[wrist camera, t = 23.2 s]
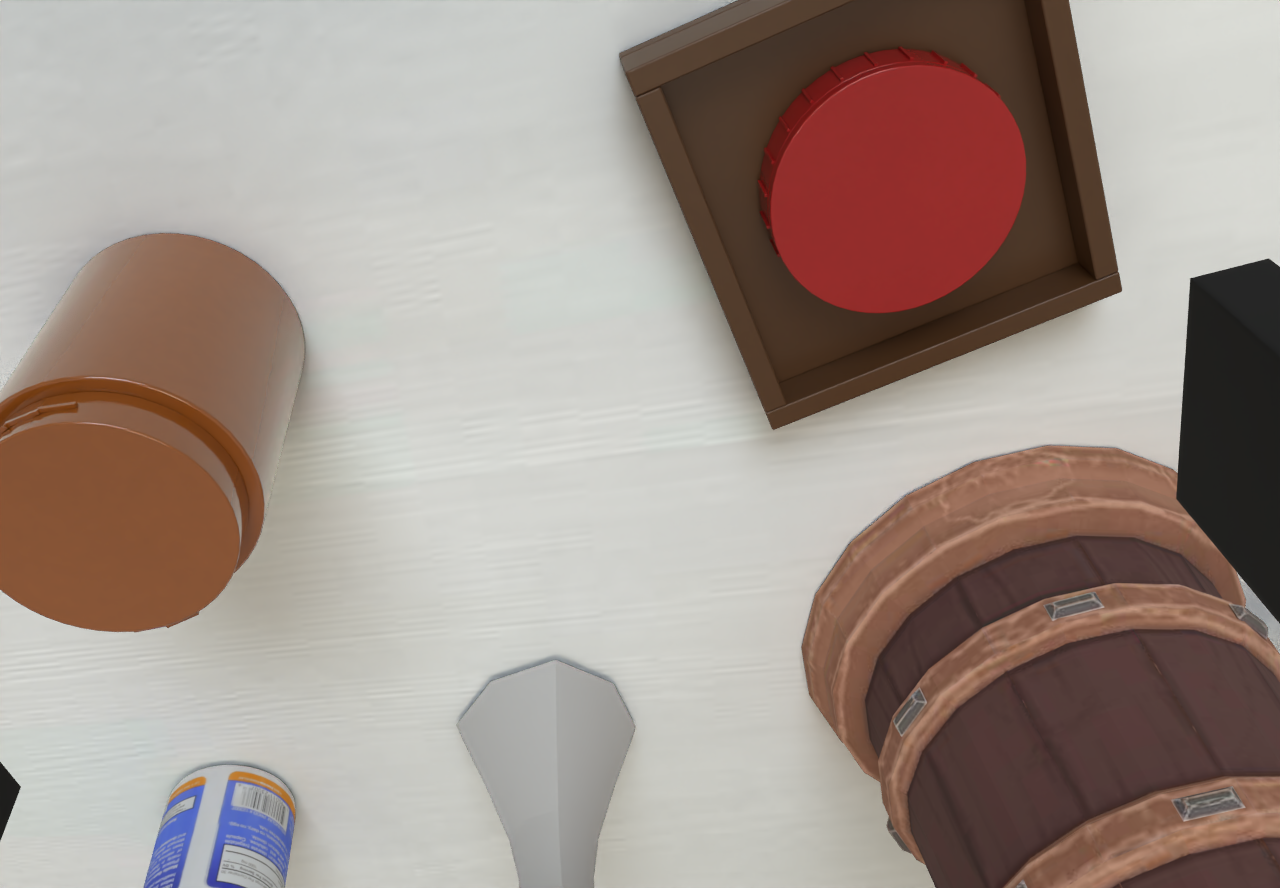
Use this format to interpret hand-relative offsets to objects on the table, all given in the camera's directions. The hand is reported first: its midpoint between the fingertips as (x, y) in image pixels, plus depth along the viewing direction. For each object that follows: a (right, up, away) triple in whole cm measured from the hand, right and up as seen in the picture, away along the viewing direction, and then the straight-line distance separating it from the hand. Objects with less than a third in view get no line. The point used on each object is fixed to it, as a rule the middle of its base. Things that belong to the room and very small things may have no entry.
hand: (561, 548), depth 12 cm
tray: (+9, +10, +26) cm, 30 cm away
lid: (+9, +9, +25) cm, 28 cm away
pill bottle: (-17, -14, +39) cm, 45 cm away
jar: (-14, +5, +27) cm, 31 cm away
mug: (+19, -6, +39) cm, 44 cm away
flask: (-3, -11, +39) cm, 40 cm away
